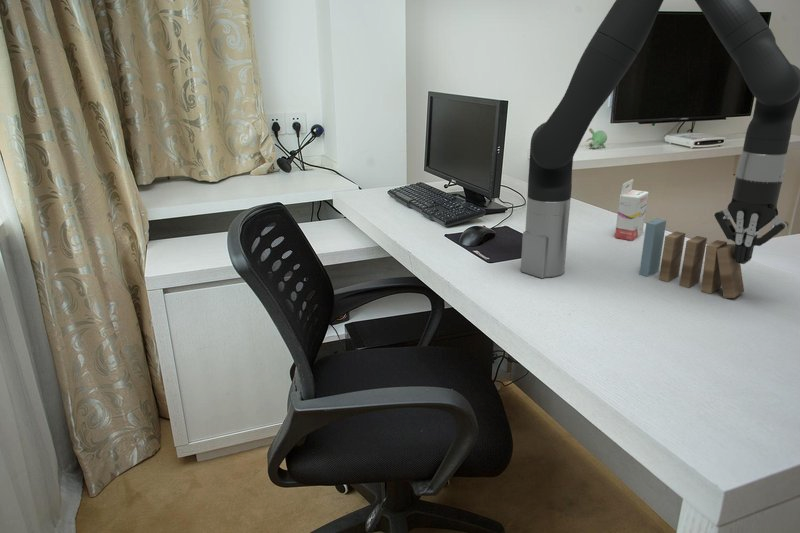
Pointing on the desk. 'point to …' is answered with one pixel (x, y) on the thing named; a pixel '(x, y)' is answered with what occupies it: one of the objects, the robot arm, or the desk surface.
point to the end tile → (652, 247)
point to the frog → (597, 139)
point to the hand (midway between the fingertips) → (741, 262)
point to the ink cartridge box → (631, 212)
